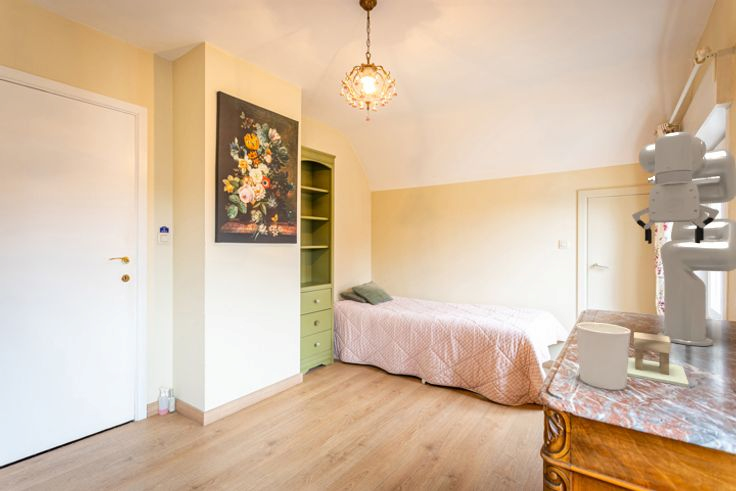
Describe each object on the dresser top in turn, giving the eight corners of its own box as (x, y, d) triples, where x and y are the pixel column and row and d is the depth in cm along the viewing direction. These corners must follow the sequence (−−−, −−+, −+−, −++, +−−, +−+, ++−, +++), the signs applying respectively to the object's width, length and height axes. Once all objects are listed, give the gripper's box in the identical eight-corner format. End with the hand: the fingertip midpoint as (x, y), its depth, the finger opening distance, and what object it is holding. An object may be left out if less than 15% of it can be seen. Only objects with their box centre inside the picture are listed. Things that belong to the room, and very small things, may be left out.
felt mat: (620, 358, 90) (620, 356, 90) (682, 368, 82) (682, 366, 82) (618, 373, 79) (618, 371, 79) (689, 387, 72) (689, 384, 72)
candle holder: (566, 377, 77) (566, 324, 77) (594, 371, 81) (594, 320, 81) (611, 395, 68) (611, 335, 68) (641, 387, 72) (641, 330, 72)
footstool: (633, 369, 80) (633, 337, 80) (634, 361, 85) (633, 332, 85) (670, 375, 76) (670, 342, 76) (668, 367, 81) (668, 336, 81)
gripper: (632, 181, 94) (632, 243, 94) (721, 173, 83) (721, 243, 83) (632, 185, 100) (632, 243, 100) (715, 178, 89) (715, 243, 89)
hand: (672, 243), depth 92 cm, fingers open, 9 cm apart
